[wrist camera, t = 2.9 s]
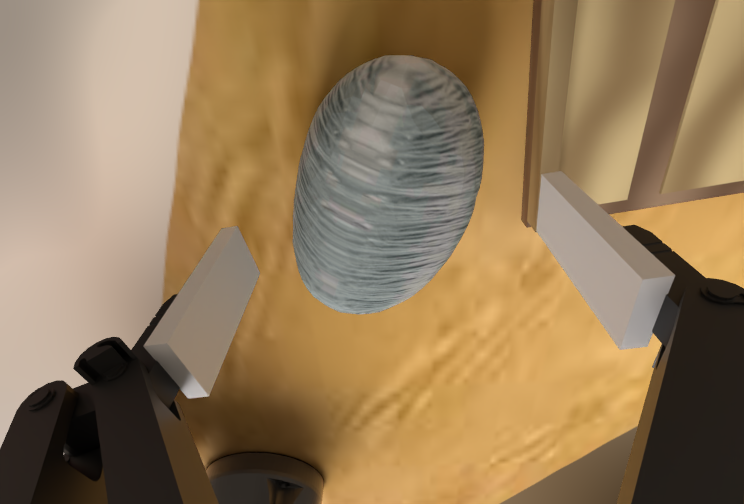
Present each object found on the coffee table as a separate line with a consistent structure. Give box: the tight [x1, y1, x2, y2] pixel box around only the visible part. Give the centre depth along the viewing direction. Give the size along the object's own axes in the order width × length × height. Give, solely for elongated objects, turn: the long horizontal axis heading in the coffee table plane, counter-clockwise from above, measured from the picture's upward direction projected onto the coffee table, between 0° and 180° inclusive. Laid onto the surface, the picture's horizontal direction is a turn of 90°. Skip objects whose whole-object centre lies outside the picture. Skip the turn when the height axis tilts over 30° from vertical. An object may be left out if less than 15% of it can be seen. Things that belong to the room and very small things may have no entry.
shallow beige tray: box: [521, 0, 744, 232], centre depth 18 cm, size 14×15×2 cm
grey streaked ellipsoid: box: [293, 55, 484, 314], centre depth 19 cm, size 14×10×10 cm
